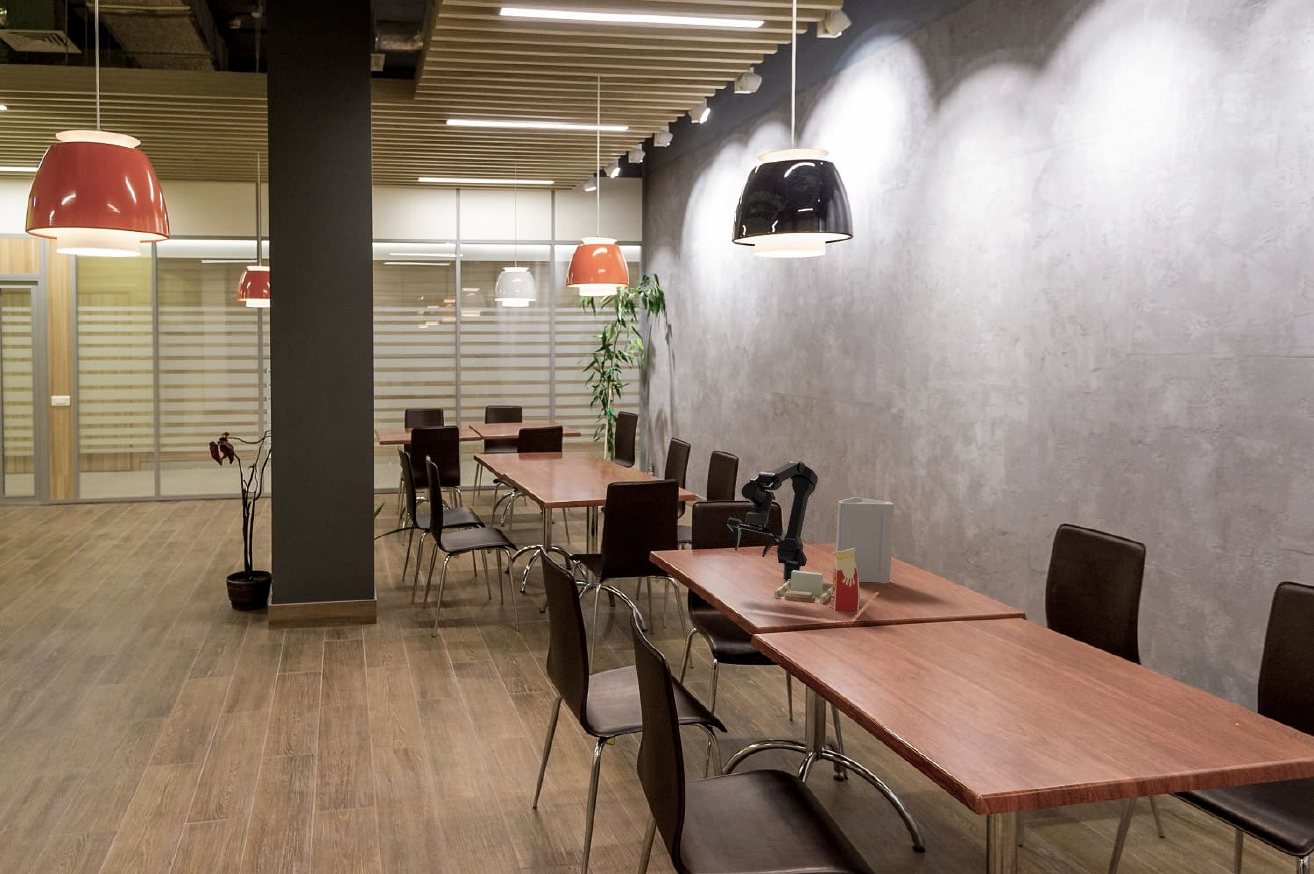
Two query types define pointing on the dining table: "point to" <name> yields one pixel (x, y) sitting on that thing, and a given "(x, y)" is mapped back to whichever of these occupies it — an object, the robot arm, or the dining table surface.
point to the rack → (818, 599)
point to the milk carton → (845, 582)
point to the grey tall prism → (867, 536)
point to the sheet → (807, 582)
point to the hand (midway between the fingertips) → (749, 553)
